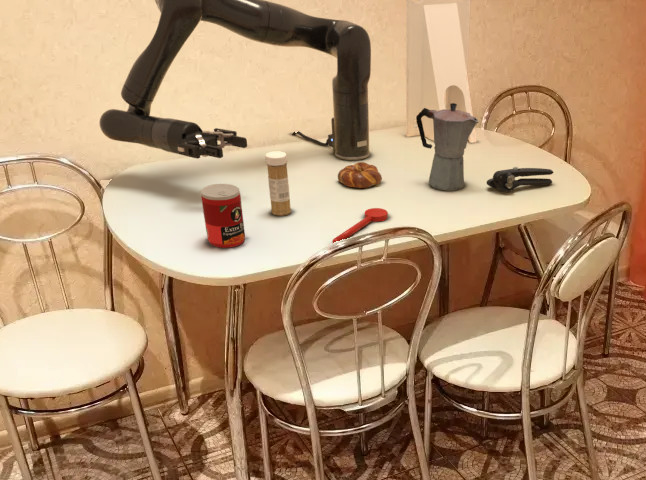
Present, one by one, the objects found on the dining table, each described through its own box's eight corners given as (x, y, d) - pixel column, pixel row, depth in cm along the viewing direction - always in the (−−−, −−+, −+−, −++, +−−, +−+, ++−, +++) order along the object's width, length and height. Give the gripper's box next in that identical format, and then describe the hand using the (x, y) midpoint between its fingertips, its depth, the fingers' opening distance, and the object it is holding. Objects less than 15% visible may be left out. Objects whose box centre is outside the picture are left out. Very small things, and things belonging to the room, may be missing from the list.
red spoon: (344, 248, 160) (344, 242, 160) (323, 243, 162) (323, 237, 161) (391, 215, 176) (391, 209, 175) (371, 211, 178) (371, 205, 177)
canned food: (227, 251, 158) (220, 199, 152) (199, 242, 161) (191, 191, 155) (253, 239, 163) (248, 188, 157) (226, 230, 167) (219, 180, 160)
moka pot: (472, 194, 188) (476, 110, 177) (410, 188, 190) (411, 105, 179) (478, 181, 196) (483, 100, 184) (418, 176, 198) (420, 95, 187)
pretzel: (338, 173, 198) (337, 159, 196) (380, 173, 199) (380, 158, 197) (337, 190, 188) (336, 175, 186) (382, 189, 189) (382, 174, 187)
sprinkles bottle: (289, 207, 178) (284, 149, 171) (293, 215, 175) (288, 156, 167) (269, 210, 177) (263, 151, 169) (272, 217, 173) (267, 157, 166)
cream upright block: (431, 149, 217) (434, -10, 194) (406, 135, 227) (406, -17, 204) (489, 139, 225) (499, -14, 203) (463, 127, 235) (469, -20, 213)
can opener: (496, 197, 187) (498, 174, 184) (483, 187, 192) (485, 165, 189) (559, 188, 193) (562, 166, 190) (545, 179, 198) (547, 157, 195)
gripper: (152, 127, 170) (211, 139, 165) (195, 113, 181) (252, 123, 175) (158, 161, 175) (215, 173, 169) (200, 145, 185) (255, 156, 180)
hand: (234, 148), depth 172 cm, fingers open, 8 cm apart
